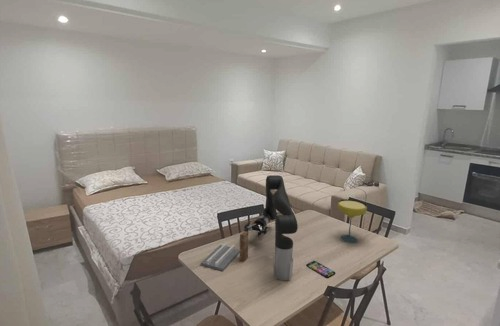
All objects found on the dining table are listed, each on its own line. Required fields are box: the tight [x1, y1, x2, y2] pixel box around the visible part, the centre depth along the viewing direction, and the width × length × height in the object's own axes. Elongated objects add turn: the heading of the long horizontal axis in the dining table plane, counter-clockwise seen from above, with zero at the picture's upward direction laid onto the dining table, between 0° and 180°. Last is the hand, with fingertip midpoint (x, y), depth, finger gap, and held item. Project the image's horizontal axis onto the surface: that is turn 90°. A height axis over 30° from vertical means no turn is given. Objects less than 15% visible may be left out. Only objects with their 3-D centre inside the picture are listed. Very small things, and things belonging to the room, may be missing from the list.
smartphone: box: [305, 260, 336, 279], centre depth 153 cm, size 8×1×15 cm
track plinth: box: [200, 242, 240, 272], centre depth 162 cm, size 14×22×4 cm, turn 157°
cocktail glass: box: [337, 199, 368, 244], centre depth 186 cm, size 18×18×25 cm
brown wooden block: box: [239, 230, 249, 262], centre depth 161 cm, size 3×5×16 cm, turn 157°
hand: (251, 233), depth 171 cm, fingers open, 8 cm apart
